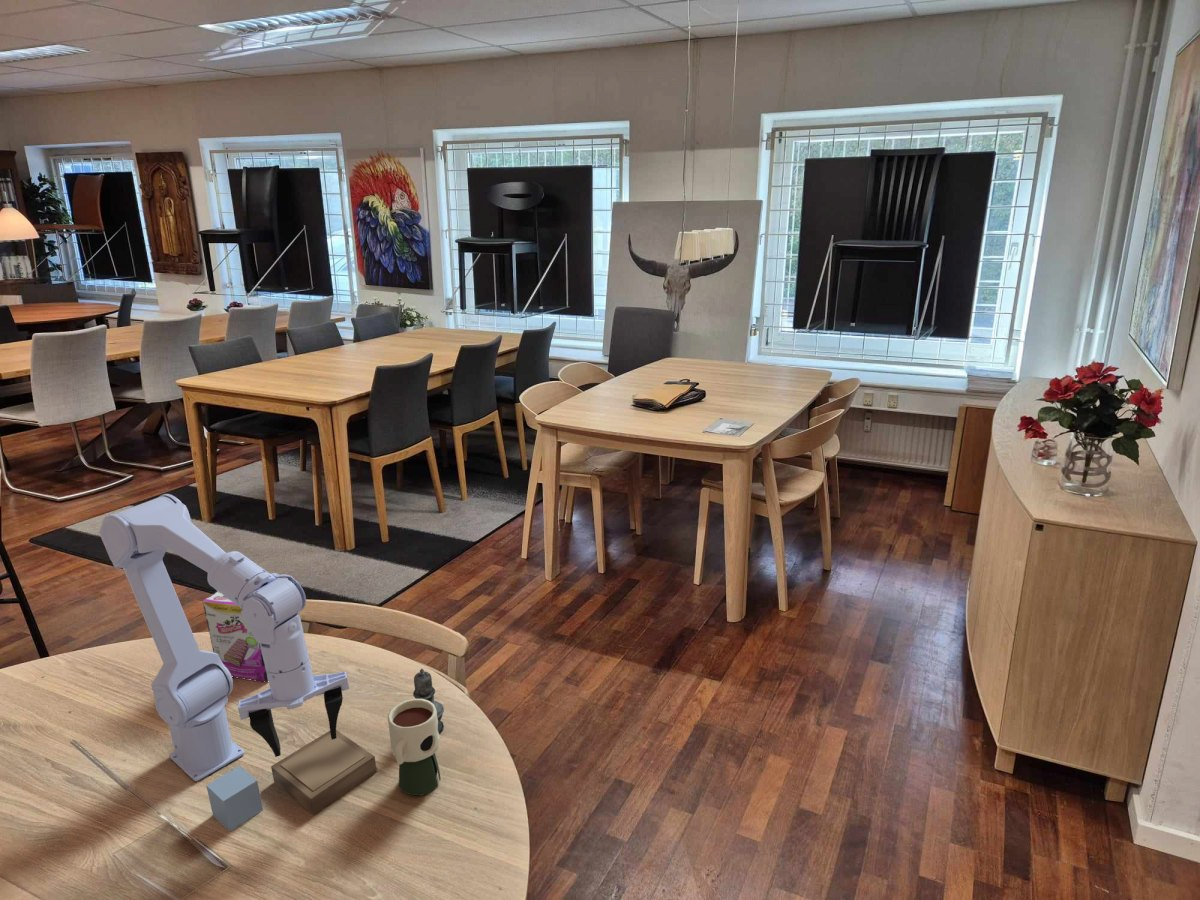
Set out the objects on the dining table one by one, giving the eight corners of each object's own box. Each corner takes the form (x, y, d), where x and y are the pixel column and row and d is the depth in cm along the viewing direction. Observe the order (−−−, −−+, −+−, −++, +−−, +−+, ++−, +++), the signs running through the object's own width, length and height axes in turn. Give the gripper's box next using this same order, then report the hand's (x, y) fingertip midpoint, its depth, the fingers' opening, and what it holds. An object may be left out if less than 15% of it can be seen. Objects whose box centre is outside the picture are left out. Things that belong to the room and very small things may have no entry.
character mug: (426, 814, 110) (418, 740, 106) (382, 807, 111) (372, 734, 107) (455, 762, 120) (449, 693, 116) (414, 756, 121) (406, 687, 117)
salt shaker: (437, 742, 124) (430, 681, 120) (404, 738, 125) (397, 677, 122) (451, 719, 130) (445, 660, 126) (419, 716, 131) (412, 656, 127)
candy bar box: (216, 677, 143) (200, 601, 137) (234, 662, 147) (219, 587, 142) (267, 684, 140) (253, 607, 135) (284, 669, 145) (271, 593, 140)
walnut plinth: (273, 782, 116) (270, 765, 115) (336, 743, 125) (333, 727, 124) (313, 815, 110) (310, 798, 109) (376, 771, 118) (374, 755, 117)
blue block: (212, 815, 110) (206, 785, 109) (245, 795, 114) (239, 765, 112) (229, 832, 107) (223, 801, 106) (263, 810, 111) (257, 780, 109)
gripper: (229, 692, 99) (251, 777, 103) (343, 661, 104) (360, 743, 108) (232, 666, 106) (252, 747, 109) (339, 637, 111) (355, 716, 114)
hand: (306, 743), depth 109 cm, fingers open, 7 cm apart
